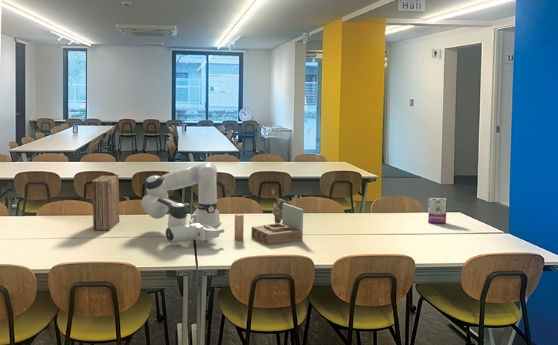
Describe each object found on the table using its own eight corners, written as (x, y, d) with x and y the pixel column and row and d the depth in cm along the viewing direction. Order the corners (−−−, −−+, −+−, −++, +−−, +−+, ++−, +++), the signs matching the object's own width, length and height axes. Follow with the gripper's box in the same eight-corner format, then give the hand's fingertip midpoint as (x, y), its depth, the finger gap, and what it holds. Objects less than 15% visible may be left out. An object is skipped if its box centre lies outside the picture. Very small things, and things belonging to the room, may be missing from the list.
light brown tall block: (233, 239, 311) (233, 214, 309) (240, 238, 313) (241, 214, 311) (236, 241, 307) (237, 216, 305) (244, 240, 309) (245, 215, 307)
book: (109, 231, 323) (108, 180, 319) (93, 231, 322) (91, 180, 318) (119, 221, 348) (118, 174, 344) (104, 221, 347) (103, 174, 343)
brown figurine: (295, 227, 338) (289, 187, 334) (278, 232, 331) (272, 191, 327) (285, 225, 347) (279, 186, 343) (268, 230, 340) (262, 190, 337)
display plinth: (251, 237, 316) (251, 206, 314) (284, 232, 327) (284, 203, 325) (268, 245, 299) (269, 212, 297) (302, 240, 310) (303, 209, 308)
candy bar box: (444, 222, 364) (446, 198, 362) (445, 224, 359) (447, 199, 357) (427, 221, 366) (428, 197, 364) (428, 223, 361) (429, 198, 359)
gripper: (189, 232, 305) (212, 230, 312) (203, 241, 288) (227, 238, 295) (189, 221, 304) (212, 219, 311) (203, 229, 287) (228, 227, 294)
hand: (220, 228), depth 303 cm, fingers open, 8 cm apart
